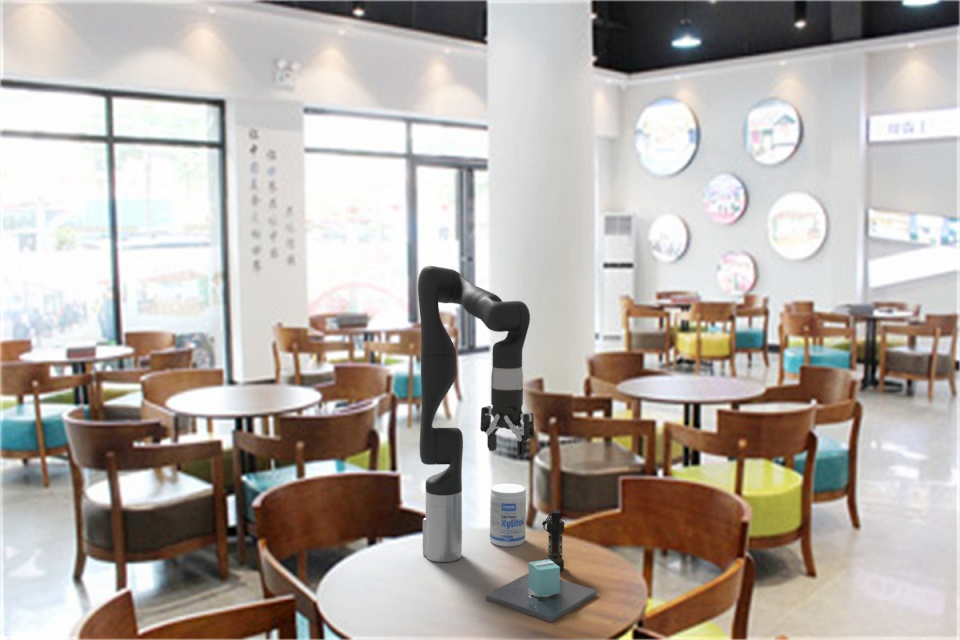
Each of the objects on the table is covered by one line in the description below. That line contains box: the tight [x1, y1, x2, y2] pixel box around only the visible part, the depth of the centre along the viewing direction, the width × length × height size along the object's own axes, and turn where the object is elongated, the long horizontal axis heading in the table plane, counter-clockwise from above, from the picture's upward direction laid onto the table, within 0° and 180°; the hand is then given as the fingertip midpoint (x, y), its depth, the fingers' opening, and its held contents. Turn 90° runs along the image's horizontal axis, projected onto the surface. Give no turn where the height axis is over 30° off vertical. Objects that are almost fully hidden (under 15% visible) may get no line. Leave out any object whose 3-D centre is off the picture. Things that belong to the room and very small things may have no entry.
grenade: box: [541, 509, 568, 573], centre depth 212 cm, size 6×6×15 cm
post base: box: [485, 572, 598, 623], centre depth 196 cm, size 18×18×6 cm
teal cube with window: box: [528, 558, 561, 597], centre depth 196 cm, size 5×5×6 cm
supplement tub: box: [489, 483, 527, 548], centre depth 232 cm, size 10×10×15 cm
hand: (506, 453), depth 206 cm, fingers open, 8 cm apart
